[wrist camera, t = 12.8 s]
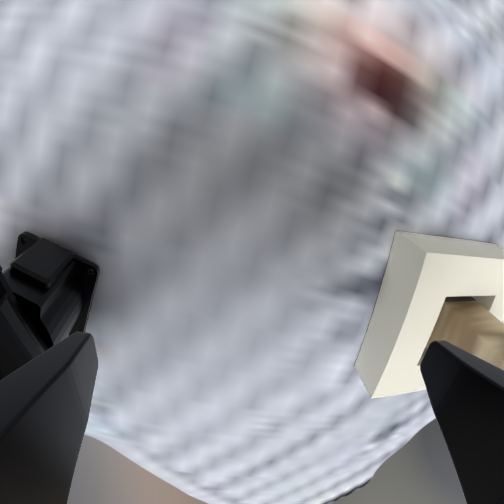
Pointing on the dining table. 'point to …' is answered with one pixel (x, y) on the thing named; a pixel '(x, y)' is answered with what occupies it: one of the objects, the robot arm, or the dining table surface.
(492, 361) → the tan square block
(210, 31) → the dining table surface
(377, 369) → the square ring frame
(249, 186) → the dining table surface
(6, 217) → the dining table surface
